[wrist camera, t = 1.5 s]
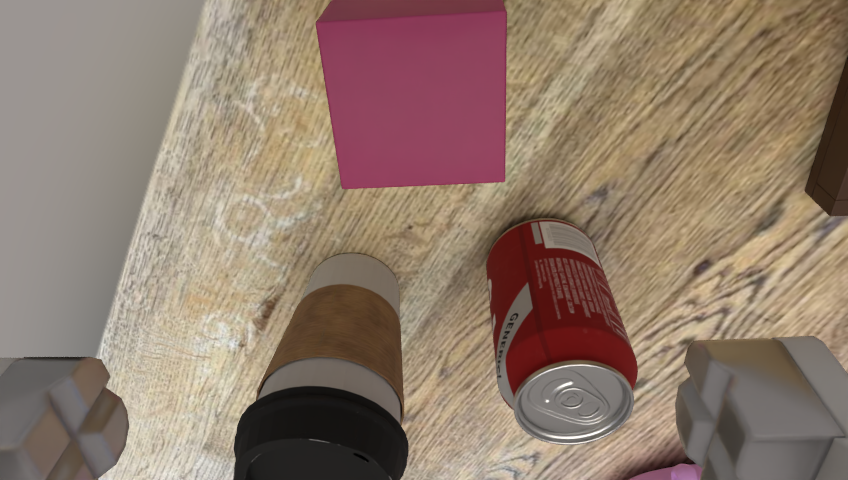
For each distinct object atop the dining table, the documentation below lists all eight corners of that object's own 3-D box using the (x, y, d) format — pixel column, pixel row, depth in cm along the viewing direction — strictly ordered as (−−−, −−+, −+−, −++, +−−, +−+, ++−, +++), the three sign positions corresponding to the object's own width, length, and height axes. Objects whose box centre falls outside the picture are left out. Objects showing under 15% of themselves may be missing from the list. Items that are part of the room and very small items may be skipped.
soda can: (536, 191, 35) (572, 330, 25) (617, 249, 37) (680, 399, 27) (463, 265, 38) (470, 414, 28) (542, 315, 40) (574, 470, 30)
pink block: (342, -16, 20) (314, 22, 16) (493, -26, 20) (507, 10, 15) (360, 125, 23) (341, 189, 18) (494, 119, 22) (505, 183, 18)
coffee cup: (444, 285, 39) (444, 492, 27) (366, 355, 43) (333, 565, 30) (341, 211, 36) (286, 404, 24) (266, 292, 40) (185, 497, 28)
